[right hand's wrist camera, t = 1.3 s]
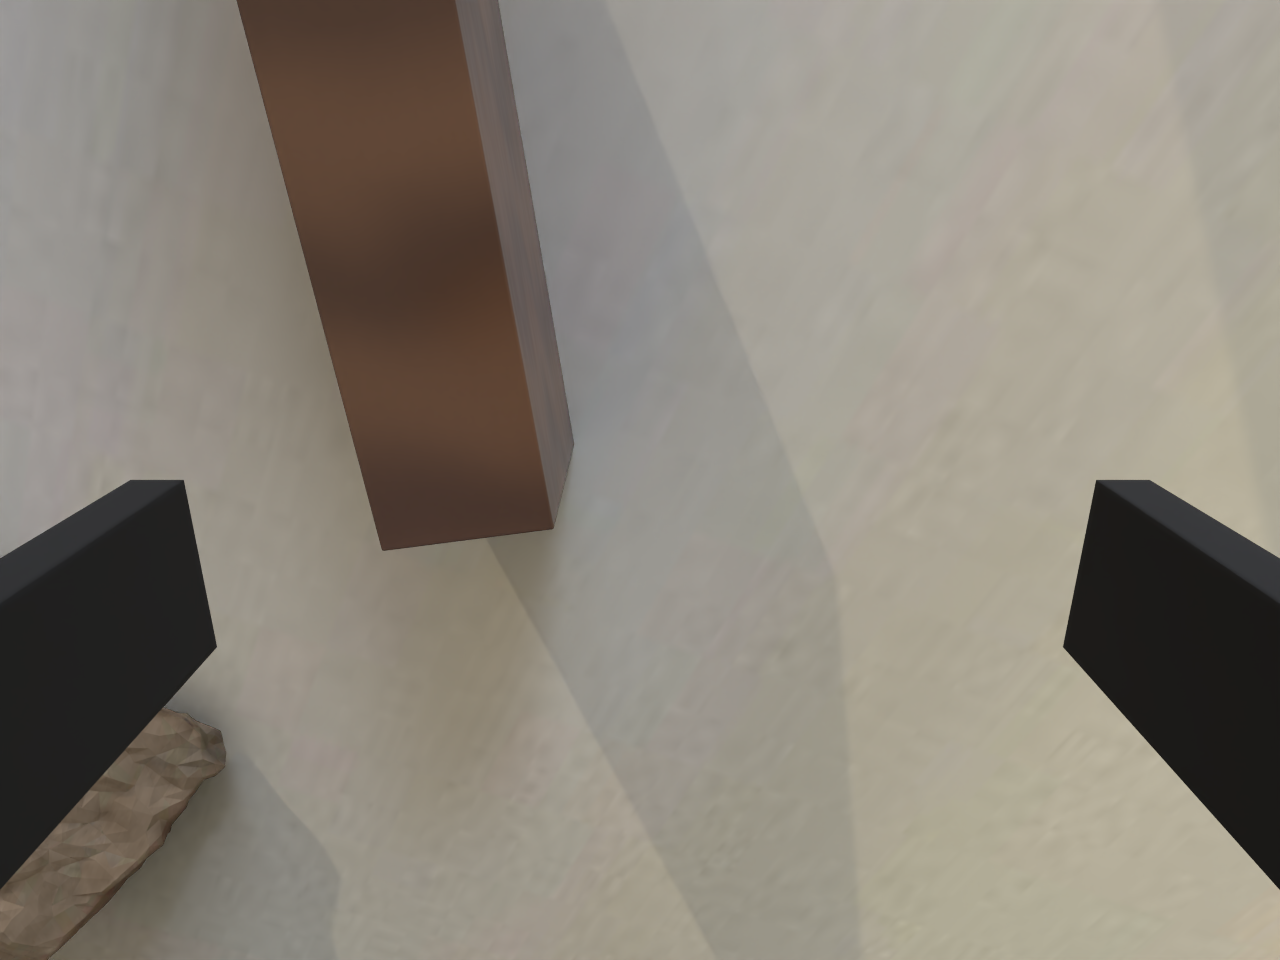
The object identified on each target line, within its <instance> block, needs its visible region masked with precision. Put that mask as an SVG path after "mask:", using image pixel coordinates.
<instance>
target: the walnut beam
mask: <svg viewBox="0 0 1280 960" xmlns="http://www.w3.org/2000/svg"><path fill="white" fill-rule="evenodd" d="M237 3H238V7H239V11H240V15H241V19H242V22H243V26H244V30H245V34H246V38H247V41H248V45H249V49H250V53H251V56H252V60H253V64H254V68H255V72H256V75H257V79H258V83H259V87H260V90H261V94H262V98H263V102H264V106H265V109H266V113H267V117H268V121H269V124H270V128H271V132H272V136H273V140H274V143H275V147H276V151H277V155H278V158H279V162H280V166H281V170H282V174H283V177H284V181H285V185H286V189H287V193H288V196H289V200H290V204H291V208H292V211H293V215H294V219H295V223H296V227H297V230H298V234H299V238H300V242H301V245H302V249H303V253H304V257H305V261H306V264H307V268H308V272H309V276H310V279H311V283H312V287H313V291H314V295H315V298H316V302H317V306H318V310H319V313H320V317H321V321H322V325H323V329H324V332H325V336H326V340H327V344H328V348H329V351H330V355H331V359H332V363H333V366H334V370H335V374H336V378H337V382H338V385H339V389H340V393H341V397H342V400H343V404H344V408H345V412H346V416H347V419H348V423H349V427H350V431H351V434H352V438H353V442H354V446H355V450H356V453H357V457H358V461H359V465H360V468H361V472H362V476H363V480H364V484H365V487H366V491H367V495H368V499H369V502H370V506H371V510H372V514H373V518H374V521H375V525H376V529H377V533H378V537H379V540H380V544H381V548H382V550H383V551H386V550H393V549H401V548H409V547H417V546H425V545H432V544H440V543H448V542H456V541H464V540H471V539H479V538H487V537H495V536H503V535H510V534H518V533H526V532H534V531H542V530H549V529H553V528H554V524H555V520H556V516H557V512H558V508H559V504H560V500H561V496H562V492H563V488H564V484H565V479H566V475H567V471H568V467H569V463H570V459H571V455H572V451H573V447H574V441H573V435H572V429H571V423H570V417H569V412H568V406H567V400H566V394H565V388H564V382H563V377H562V371H561V365H560V359H559V353H558V348H557V342H556V336H555V330H554V324H553V318H552V313H551V307H550V301H549V295H548V289H547V284H546V278H545V272H544V266H543V260H542V254H541V249H540V243H539V237H538V231H537V225H536V220H535V214H534V208H533V202H532V196H531V190H530V185H529V179H528V173H527V167H526V161H525V156H524V150H523V144H522V138H521V132H520V126H519V121H518V115H517V109H516V103H515V97H514V92H513V86H512V80H511V74H510V68H509V62H508V57H507V51H506V45H505V39H504V33H503V28H502V22H501V16H500V10H499V4H498V0H237Z"/></svg>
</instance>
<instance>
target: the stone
mask: <svg viewBox="0 0 1280 960" xmlns="http://www.w3.org/2000/svg"><path fill="white" fill-rule="evenodd" d="M225 762H226V751H225V747H224V744H223V738H222V735H221V731H219V730H217V729H215V728H213V727H211V726H208V725H205V724H203V723H200V722H198V721H195V720H194V719H193V718H192V717H190V716H189V715H188V714H187V713H176V712H174V711H171V710H169V709H166V708H162V709H161V710H160V711H159V712H158V714H157V715H156V716H155V717H154V718H153V719H152V720H151V721H150V723H149V724H148V725H147V726H146V727H145V728H144V729H143V730H142V731H141V733H140V734H139V735H138V736H137V737H136V738H135V739H134V740H133V742H132V743H131V744H130V745H129V746H128V747H127V748H126V749H125V751H124V752H123V753H122V754H121V755H120V756H119V757H118V758H117V759H116V761H115V762H114V763H113V764H112V765H111V766H110V767H109V768H108V770H107V771H106V772H105V773H104V774H103V775H102V776H101V777H100V779H99V780H98V781H97V782H96V783H95V784H94V785H93V786H92V787H91V789H90V790H89V791H88V792H87V793H86V794H85V795H84V796H83V798H82V799H81V800H80V801H79V802H78V803H77V804H76V805H75V807H74V808H73V809H72V810H71V811H70V812H69V813H68V814H67V815H66V817H65V818H64V819H63V820H62V821H61V822H60V823H59V824H58V826H57V827H56V828H55V829H54V830H53V831H52V832H51V833H50V835H49V836H48V837H47V838H46V839H45V840H44V841H43V842H42V843H41V845H40V846H39V847H38V848H37V849H36V850H35V851H34V852H33V854H32V855H31V856H30V857H29V858H28V859H27V860H26V861H25V863H24V864H23V865H22V866H21V867H20V868H19V869H18V870H17V871H16V873H15V874H14V875H13V876H12V877H11V878H10V879H9V880H8V882H7V883H6V884H5V885H4V886H3V887H2V888H1V889H0V960H47V959H48V958H49V957H51V956H52V955H53V954H54V953H55V952H56V951H58V950H59V949H60V948H61V947H62V946H63V945H64V944H65V943H66V942H67V941H68V940H69V939H70V938H71V937H72V936H73V935H74V934H75V933H76V932H77V931H78V930H79V929H80V928H81V927H83V926H84V925H85V924H86V923H87V922H88V921H89V920H90V919H91V918H92V917H93V916H94V915H95V914H96V913H97V912H98V911H99V910H100V909H101V908H102V907H103V906H104V905H105V904H106V903H107V902H108V901H109V900H110V899H111V898H112V897H113V896H114V894H115V893H116V892H117V891H118V890H119V889H120V887H121V886H122V885H123V883H124V882H125V881H126V880H127V879H128V878H129V877H130V876H131V875H132V874H134V873H135V872H136V871H137V870H139V869H140V867H141V866H142V864H143V863H144V861H145V860H146V858H147V857H149V856H150V855H151V854H152V853H154V852H155V851H156V850H157V849H159V848H160V847H161V846H162V845H163V844H164V842H165V839H166V836H167V834H168V833H169V832H170V830H171V826H172V824H173V823H174V821H175V820H176V819H177V818H178V817H179V815H180V814H181V813H182V812H183V811H184V809H185V808H186V807H187V804H188V801H189V799H190V798H191V797H192V796H193V794H194V793H195V792H196V791H197V789H198V787H199V786H200V784H201V783H202V781H203V780H204V779H207V778H211V777H214V776H215V775H217V774H218V773H219V772H220V771H221V770H222V769H223V768H224V767H225Z"/></svg>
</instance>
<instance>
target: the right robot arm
mask: <svg viewBox="0 0 1280 960" xmlns="http://www.w3.org/2000/svg"><path fill="white" fill-rule="evenodd" d="M216 647H217V645H216V640H215V635H214V630H213V625H212V620H211V615H210V610H209V605H208V600H207V595H206V590H205V585H204V580H203V574H202V569H201V564H200V559H199V554H198V549H197V544H196V539H195V534H194V529H193V524H192V519H191V514H190V509H189V504H188V499H187V494H186V489H185V484H184V480H130V481H128V482H126V483H125V484H123V485H121V486H120V487H118V488H116V489H115V490H113V491H111V492H110V493H108V494H107V495H105V496H103V497H102V498H100V499H98V500H97V501H95V502H93V503H92V504H90V505H88V506H87V507H85V508H83V509H82V510H80V511H78V512H77V513H75V514H73V515H72V516H70V517H68V518H67V519H65V520H63V521H62V522H60V523H58V524H57V525H55V526H53V527H52V528H50V529H48V530H47V531H45V532H43V533H42V534H40V535H38V536H37V537H35V538H33V539H32V540H30V541H28V542H27V543H25V544H24V545H22V546H20V547H19V548H17V549H15V550H14V551H12V552H10V553H9V554H7V555H5V556H4V557H2V558H0V889H1V888H2V887H3V886H4V885H5V884H6V883H7V882H8V880H9V879H10V878H11V877H12V876H13V875H14V874H15V873H16V871H17V870H18V869H19V868H20V867H21V866H22V865H23V864H24V863H25V861H26V860H27V859H28V858H29V857H30V856H31V855H32V854H33V852H34V851H35V850H36V849H37V848H38V847H39V846H40V845H41V843H42V842H43V841H44V840H45V839H46V838H47V837H48V836H49V835H50V833H51V832H52V831H53V830H54V829H55V828H56V827H57V826H58V824H59V823H60V822H61V821H62V820H63V819H64V818H65V817H66V815H67V814H68V813H69V812H70V811H71V810H72V809H73V808H74V807H75V805H76V804H77V803H78V802H79V801H80V800H81V799H82V798H83V796H84V795H85V794H86V793H87V792H88V791H89V790H90V789H91V787H92V786H93V785H94V784H95V783H96V782H97V781H98V780H99V779H100V777H101V776H102V775H103V774H104V773H105V772H106V771H107V770H108V768H109V767H110V766H111V765H112V764H113V763H114V762H115V761H116V759H117V758H118V757H119V756H120V755H121V754H122V753H123V752H124V751H125V749H126V748H127V747H128V746H129V745H130V744H131V743H132V742H133V740H134V739H135V738H136V737H137V736H138V735H139V734H140V733H141V731H142V730H143V729H144V728H145V727H146V726H147V725H148V724H149V723H150V721H151V720H152V719H153V718H154V717H155V716H156V715H157V714H158V712H159V711H160V710H161V709H162V708H163V707H164V706H165V705H166V703H167V702H168V701H169V700H170V699H171V698H172V697H173V696H174V695H175V693H176V692H177V691H178V690H179V689H180V688H181V687H182V686H183V684H184V683H185V682H186V681H187V680H188V679H189V678H190V677H191V675H192V674H193V673H194V672H195V671H196V670H197V669H198V668H199V667H200V665H201V664H202V663H203V662H204V661H205V660H206V659H207V658H208V656H209V655H210V654H211V653H212V652H213V651H214V650H215V649H216ZM1063 647H1064V649H1065V650H1066V651H1067V652H1068V653H1069V654H1070V655H1071V656H1072V658H1073V659H1074V660H1075V661H1076V662H1077V663H1078V664H1079V665H1080V667H1081V668H1082V669H1083V670H1084V671H1085V672H1086V673H1087V674H1088V675H1089V677H1090V678H1091V679H1092V680H1093V681H1094V682H1095V683H1096V684H1097V686H1098V687H1099V688H1100V689H1101V690H1102V691H1103V692H1104V693H1105V695H1106V696H1107V697H1108V698H1109V699H1110V700H1111V701H1112V702H1113V703H1114V705H1115V706H1116V707H1117V708H1118V709H1119V710H1120V711H1121V712H1122V714H1123V715H1124V716H1125V717H1126V718H1127V719H1128V720H1129V721H1130V723H1131V724H1132V725H1133V726H1134V727H1135V728H1136V729H1137V730H1138V731H1139V733H1140V734H1141V735H1142V736H1143V737H1144V738H1145V739H1146V740H1147V742H1148V743H1149V744H1150V745H1151V746H1152V747H1153V748H1154V749H1155V751H1156V752H1157V753H1158V754H1159V755H1160V756H1161V757H1162V758H1163V759H1164V761H1165V762H1166V763H1167V764H1168V765H1169V766H1170V767H1171V768H1172V770H1173V771H1174V772H1175V773H1176V774H1177V775H1178V776H1179V777H1180V779H1181V780H1182V781H1183V782H1184V783H1185V784H1186V785H1187V786H1188V787H1189V789H1190V790H1191V791H1192V792H1193V793H1194V794H1195V795H1196V796H1197V798H1198V799H1199V800H1200V801H1201V802H1202V803H1203V804H1204V805H1205V807H1206V808H1207V809H1208V810H1209V811H1210V812H1211V813H1212V814H1213V815H1214V817H1215V818H1216V819H1217V820H1218V821H1219V822H1220V823H1221V824H1222V826H1223V827H1224V828H1225V829H1226V830H1227V831H1228V832H1229V833H1230V835H1231V836H1232V837H1233V838H1234V839H1235V840H1236V841H1237V842H1238V843H1239V845H1240V846H1241V847H1242V848H1243V849H1244V850H1245V851H1246V852H1247V854H1248V855H1249V856H1250V857H1251V858H1252V859H1253V860H1254V861H1255V863H1256V864H1257V865H1258V866H1259V867H1260V868H1261V869H1262V870H1263V871H1264V873H1265V874H1266V875H1267V876H1268V877H1269V878H1270V879H1271V880H1272V882H1273V883H1274V884H1275V885H1276V886H1277V887H1278V888H1279V889H1280V558H1278V557H1276V556H1275V555H1273V554H1271V553H1270V552H1268V551H1266V550H1265V549H1263V548H1261V547H1260V546H1258V545H1256V544H1255V543H1253V542H1252V541H1250V540H1248V539H1247V538H1245V537H1243V536H1242V535H1240V534H1238V533H1237V532H1235V531H1233V530H1232V529H1230V528H1228V527H1227V526H1225V525H1223V524H1222V523H1220V522H1218V521H1217V520H1215V519H1213V518H1212V517H1210V516H1208V515H1207V514H1205V513H1203V512H1202V511H1200V510H1198V509H1197V508H1195V507H1193V506H1192V505H1190V504H1188V503H1187V502H1185V501H1183V500H1182V499H1180V498H1178V497H1177V496H1175V495H1173V494H1172V493H1170V492H1169V491H1167V490H1165V489H1164V488H1162V487H1160V486H1159V485H1157V484H1155V483H1154V482H1152V481H1150V480H1096V484H1095V489H1094V494H1093V499H1092V504H1091V509H1090V514H1089V519H1088V524H1087V529H1086V534H1085V539H1084V544H1083V549H1082V554H1081V559H1080V564H1079V569H1078V574H1077V579H1076V585H1075V590H1074V595H1073V600H1072V605H1071V610H1070V615H1069V620H1068V625H1067V630H1066V635H1065V640H1064V645H1063Z"/></svg>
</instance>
